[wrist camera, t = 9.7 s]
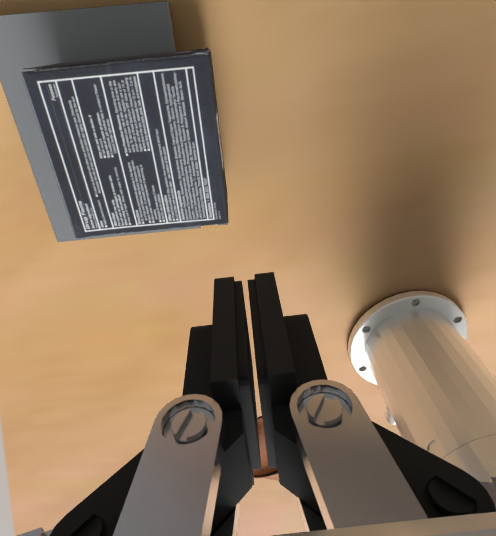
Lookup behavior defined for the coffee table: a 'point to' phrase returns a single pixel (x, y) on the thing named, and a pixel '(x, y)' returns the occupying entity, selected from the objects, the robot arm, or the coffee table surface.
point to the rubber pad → (72, 50)
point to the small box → (133, 141)
